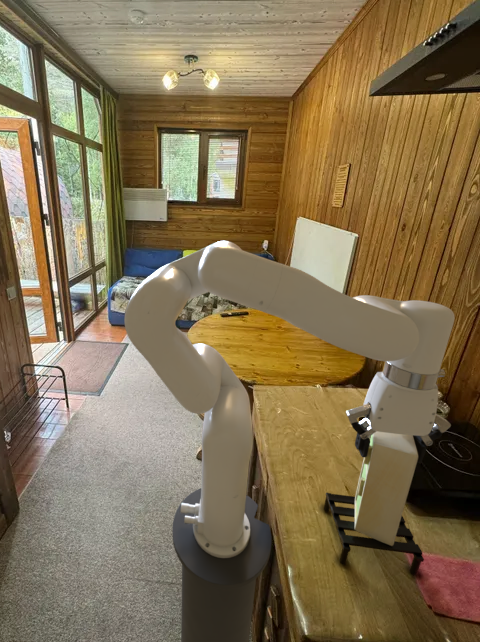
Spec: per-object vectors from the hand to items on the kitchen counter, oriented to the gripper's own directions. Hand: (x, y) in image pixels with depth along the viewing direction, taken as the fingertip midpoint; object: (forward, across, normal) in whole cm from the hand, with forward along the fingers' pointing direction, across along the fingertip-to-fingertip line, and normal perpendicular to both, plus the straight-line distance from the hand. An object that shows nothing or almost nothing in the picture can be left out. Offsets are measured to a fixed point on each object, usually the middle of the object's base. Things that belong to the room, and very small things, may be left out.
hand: (387, 454), depth 57 cm
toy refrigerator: (+17, 0, 0) cm, 17 cm away
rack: (+22, 0, 0) cm, 22 cm away
